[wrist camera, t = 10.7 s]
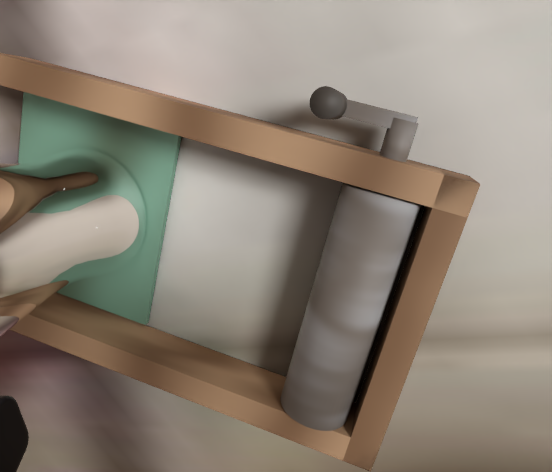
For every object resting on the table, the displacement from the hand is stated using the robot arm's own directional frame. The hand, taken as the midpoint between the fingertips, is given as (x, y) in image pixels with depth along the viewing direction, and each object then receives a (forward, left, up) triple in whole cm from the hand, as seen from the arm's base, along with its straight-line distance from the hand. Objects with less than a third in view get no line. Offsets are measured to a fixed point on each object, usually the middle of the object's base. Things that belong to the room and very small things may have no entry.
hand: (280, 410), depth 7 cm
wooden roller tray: (+6, +3, -13) cm, 15 cm away
